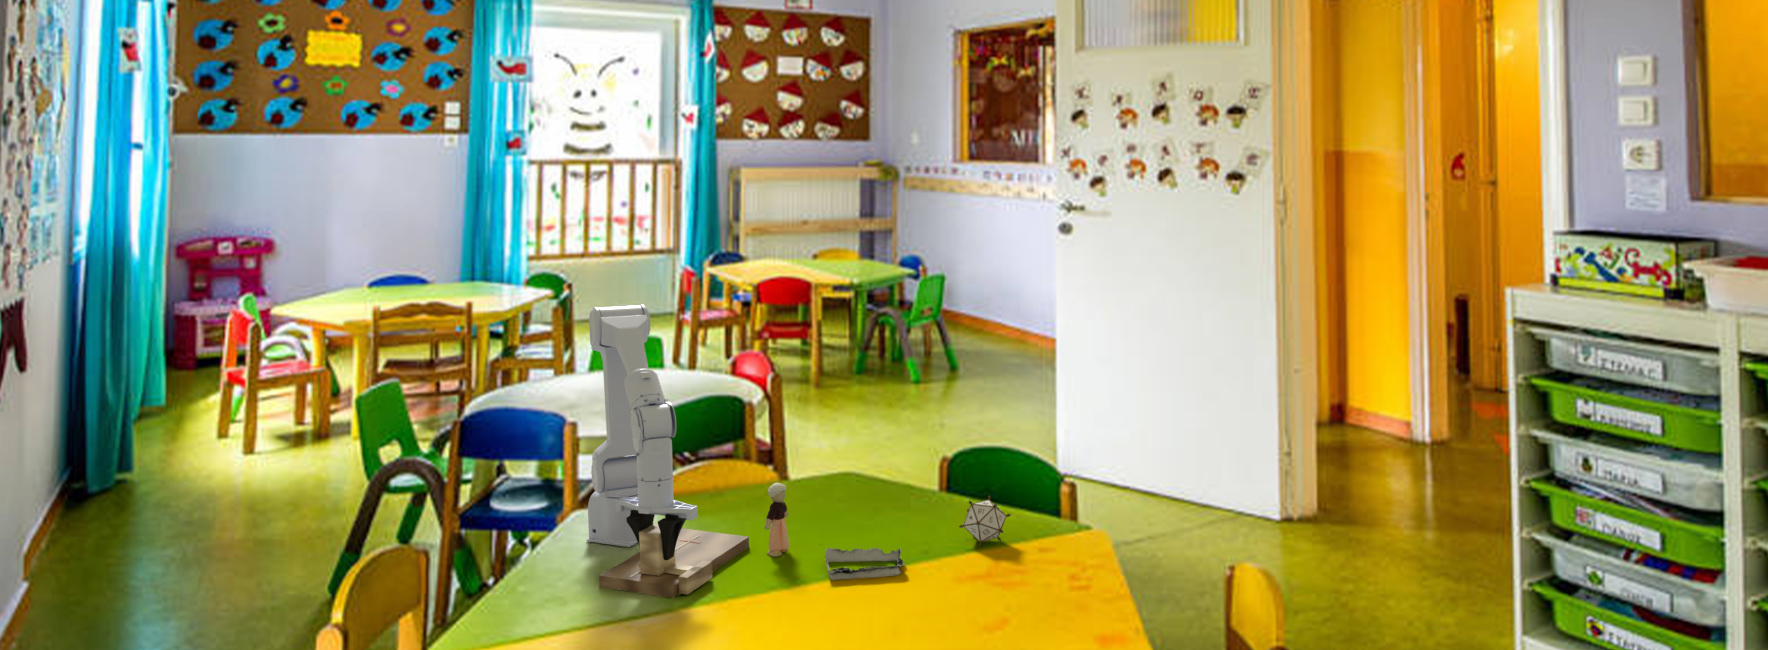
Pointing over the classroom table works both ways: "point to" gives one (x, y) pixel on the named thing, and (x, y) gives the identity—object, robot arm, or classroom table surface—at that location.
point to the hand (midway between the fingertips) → (657, 556)
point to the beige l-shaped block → (669, 562)
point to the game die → (984, 520)
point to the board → (687, 552)
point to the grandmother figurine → (777, 521)
